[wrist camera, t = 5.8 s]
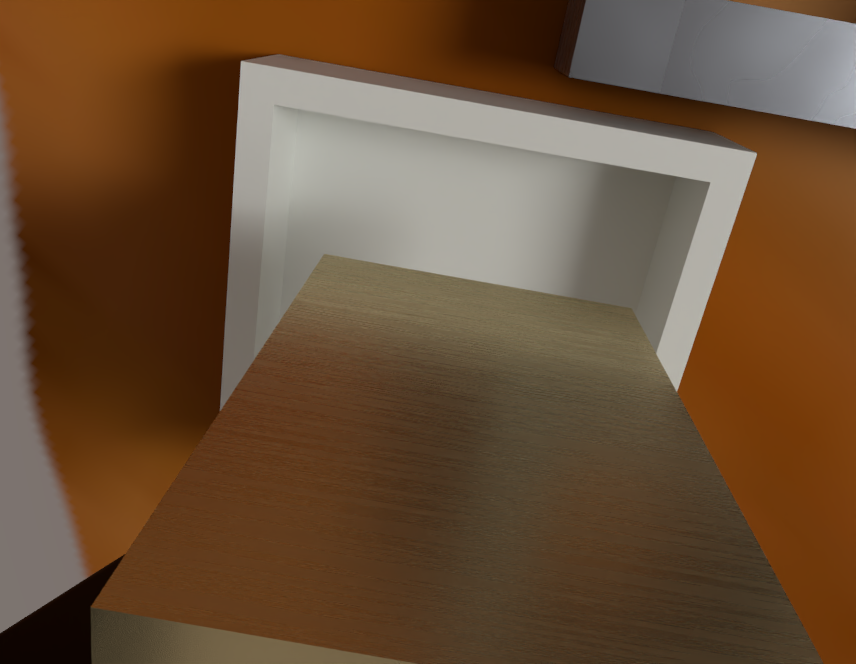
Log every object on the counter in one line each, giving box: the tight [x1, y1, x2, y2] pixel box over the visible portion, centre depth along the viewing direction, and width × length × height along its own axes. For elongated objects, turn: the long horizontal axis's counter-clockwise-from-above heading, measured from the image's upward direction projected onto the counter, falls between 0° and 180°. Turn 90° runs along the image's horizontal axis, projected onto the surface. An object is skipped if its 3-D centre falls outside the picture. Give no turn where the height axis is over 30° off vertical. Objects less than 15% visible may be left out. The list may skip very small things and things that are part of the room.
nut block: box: [91, 254, 823, 664], centre depth 8 cm, size 4×4×7 cm
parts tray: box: [220, 54, 757, 411], centre depth 15 cm, size 9×9×2 cm
